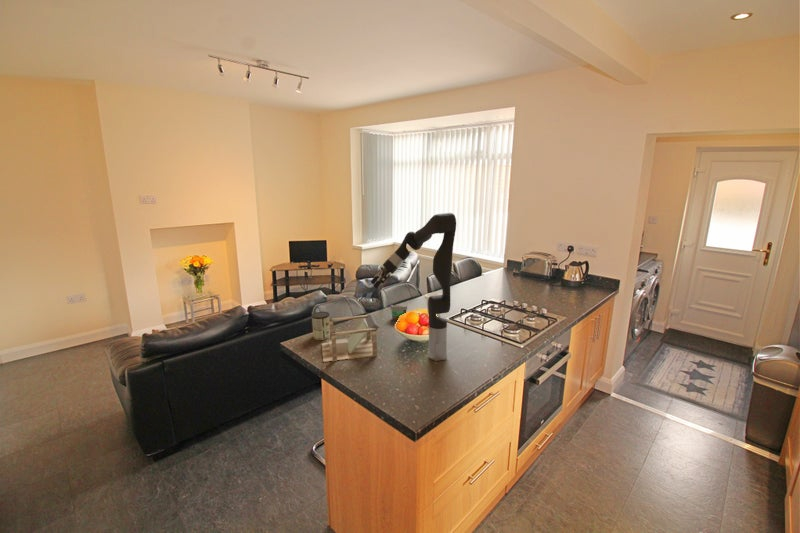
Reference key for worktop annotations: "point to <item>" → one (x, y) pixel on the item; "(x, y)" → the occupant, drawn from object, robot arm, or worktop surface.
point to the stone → (339, 345)
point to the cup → (429, 296)
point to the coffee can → (321, 325)
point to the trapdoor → (357, 337)
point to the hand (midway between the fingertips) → (373, 285)
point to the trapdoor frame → (362, 349)
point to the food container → (397, 311)
